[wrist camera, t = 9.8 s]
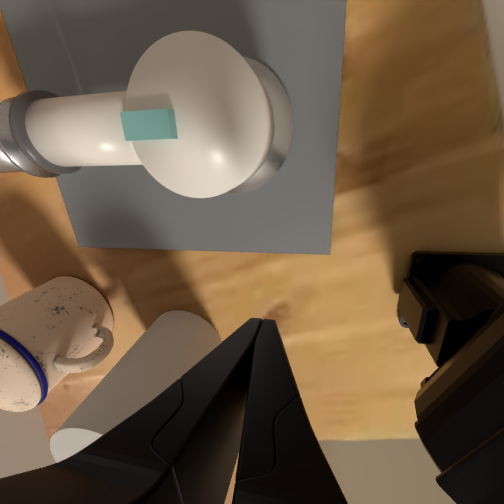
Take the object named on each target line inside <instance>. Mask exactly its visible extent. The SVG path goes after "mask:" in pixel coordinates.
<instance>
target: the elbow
mask: <svg viewBox="0 0 504 504" xmlns="http://www.w3.org/2000/svg"><path fill="white" fill-rule="evenodd" d="M9 125H10V129H11V133H12V135H13V138H14V140H15V142H16V144H17V145H18V147H19V148H20V150H21V151H22V152H23V154H24V155H25V156H26V157H27V158H28V159H29V160H30V161H31V162H32V163H34V164H35V165H36V166H38V167H39V168H41V169H43V170H45V171H48V172H51V173H57V174H68V173H74V172H76V171H78V170H80V169H81V168H82V167H83V166H114V165H143V166H144V167H145V168H146V170H147V171H148V172H149V173H150V174H151V175H152V176H153V178H154V179H156V180H157V181H158V182H159V183H160V184H161V185H163V186H164V187H166V188H167V189H169V190H171V191H173V192H175V193H177V194H180V195H183V196H187V197H192V198H210V197H214V196H218V195H221V194H223V193H226V192H227V191H229V190H231V189H233V188H235V187H236V186H238V185H240V184H242V183H244V182H246V181H247V180H248V179H250V178H251V177H252V176H253V175H254V174H255V173H256V172H257V171H258V170H259V169H260V168H261V166H262V165H263V163H264V162H265V160H266V158H267V156H268V154H269V152H270V149H271V145H272V142H273V136H274V113H273V107H272V104H271V100H270V97H269V95H268V92H267V90H266V88H265V86H264V85H263V83H262V81H261V80H260V79H259V77H258V76H257V75H256V74H255V72H254V71H253V70H252V69H251V67H250V66H249V65H248V63H247V62H246V61H245V60H244V58H243V57H242V56H241V55H240V54H239V53H238V52H237V51H236V50H235V49H234V48H233V47H232V46H231V45H229V44H228V43H226V42H225V41H223V40H222V39H220V38H218V37H216V36H214V35H211V34H208V33H204V32H199V31H180V32H176V33H172V34H170V35H167V36H165V37H163V38H161V39H160V40H158V41H156V42H155V43H154V44H153V45H151V46H150V47H149V48H148V49H147V50H146V51H145V53H144V54H143V55H142V56H141V57H140V59H139V61H138V62H137V64H136V66H135V68H134V70H133V72H132V74H131V77H130V80H129V84H128V88H127V91H119V92H109V93H98V94H87V95H77V96H66V97H59V96H57V95H56V94H54V93H51V92H48V91H44V90H34V91H26V92H23V93H21V94H19V95H18V96H16V97H15V99H14V100H13V101H12V103H11V106H10V109H9Z"/></svg>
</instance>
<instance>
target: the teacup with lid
mask: <svg viewBox="0 0 504 504" xmlns="http://www.w3.org/2000/svg"><path fill="white" fill-rule="evenodd" d="M112 328H113V315H112V312H111V309H110V307H109V305H108V303H107V301H106V300H105V299H104V297H103V296H102V295H101V294H100V293H99V292H98V291H97V290H96V289H95V288H94V287H92V286H91V285H90V284H88V283H86V282H85V281H83V280H80V279H78V278H74V277H69V276H61V277H56V278H54V279H52V280H50V281H48V282H46V283H44V284H42V285H40V286H38V287H36V288H34V289H32V290H30V291H28V292H26V293H25V294H23V295H21V296H19V297H17V298H15V299H13V300H11V301H9V302H7V303H5V304H3V305H1V306H0V409H3V410H7V411H12V412H22V411H26V410H29V409H32V408H33V407H35V406H37V405H39V404H40V403H42V402H43V401H44V400H45V398H46V396H47V393H48V392H49V391H50V390H51V389H53V388H54V387H55V386H56V385H57V384H58V383H59V382H60V381H61V380H62V379H63V378H64V377H65V376H66V375H67V374H68V373H76V372H82V371H85V370H88V369H91V368H93V367H95V366H96V365H98V364H99V363H101V362H102V361H103V360H104V359H105V358H106V357H107V356H108V354H109V353H110V351H111V349H112V347H113V343H114V339H113V334H112V332H111V331H112ZM100 343H102V344H101V345H100V346H99V348H98V349H97V350H95V351H94V352H93V353H91V352H92V351H93V350H94V349H95V348H96V347H97V346H98V345H99V344H100ZM90 353H91V354H90Z"/></svg>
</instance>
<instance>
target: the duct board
mask: <svg viewBox="0 0 504 504" xmlns="http://www.w3.org/2000/svg"><path fill="white" fill-rule="evenodd" d="M346 4H347V0H0V8H1V11H2V14H3V17H4V20H5V24H6V27H7V30H8V33H9V36H10V39H11V42H12V45H13V48H14V51H15V54H16V57H17V60H18V63H19V66H20V69H21V72H22V75H23V78H24V81H25V84H26V87H27V90H28V91H34V90H44V91H48V92H51V93H54V94H56V95H57V96H59V97H66V96H77V95H87V94H98V93H109V92H119V91H127V88H128V84H129V80H130V77H131V74H132V72H133V70H134V68H135V66H136V64H137V62H138V61H139V59H140V57H141V56H142V55H143V54H144V53H145V51H146V50H147V49H148V48H149V47H150V46H151V45H153V44H154V43H155V42H156V41H158V40H160V39H161V38H163V37H165V36H167V35H170V34H172V33H176V32H180V31H199V32H204V33H208V34H211V35H214V36H216V37H218V38H220V39H222V40H223V41H225V42H226V43H228V44H229V45H231V46H232V47H233V48H234V49H235V50H236V51H237V52H238V53H239V54H240V55H241V56H244V57H248V58H251V59H253V60H255V61H258V62H259V63H261V64H262V65H264V66H265V67H267V68H268V69H269V70H270V71H271V72H272V73H273V74H274V75H275V76H276V77H277V78H278V80H279V81H280V83H281V84H282V86H283V87H284V89H285V91H286V93H287V96H288V98H289V101H290V104H291V107H292V113H293V123H294V129H293V139H292V144H291V147H290V151H289V154H288V156H287V158H286V160H285V162H284V164H283V165H282V167H281V168H280V170H279V171H278V172H277V173H276V175H274V176H273V177H272V178H271V179H270V180H269V181H268V182H266V183H265V184H264V185H262V186H260V187H258V188H257V189H254V190H251V191H248V192H244V193H223V194H221V195H218V196H214V197H210V198H192V197H187V196H183V195H180V194H177V193H175V192H173V191H171V190H169V189H167V188H166V187H164V186H163V185H161V184H160V183H159V182H158V181H157V180H156V179H154V178H153V176H152V175H151V174H150V173H149V172H148V171H147V170H146V168H145V167H144V166H143V165H114V166H83V167H82V168H81V169H80V170H78V171H76V172H74V173H68V174H61V175H59V176H56V179H57V182H58V185H59V188H60V191H61V194H62V197H63V200H64V203H65V206H66V209H67V212H68V215H69V218H70V221H71V224H72V227H73V230H74V233H75V236H76V239H77V242H78V245H79V247H97V248H129V249H161V250H193V251H225V252H257V253H289V254H321V255H330V249H331V233H332V218H333V203H334V187H335V172H336V157H337V141H338V126H339V111H340V95H341V80H342V65H343V49H344V34H345V19H346Z"/></svg>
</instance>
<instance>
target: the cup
mask: <svg viewBox="0 0 504 504" xmlns="http://www.w3.org/2000/svg"><path fill="white" fill-rule="evenodd" d="M220 343H222V340H221V338H220V336H219V334H218V332H217V331H216V329H215V328H214V327H213V326H212V325H211V324H210V323H209V322H208V321H206V320H205V319H203V318H202V317H200V316H198V315H196V314H194V313H191V312H187V311H182V310H174V311H168V312H165V313H163V314H162V315H160V316H159V317H158V318H157V319H156V320H155V321H154V322H153V324H152V325H151V326H150V327H149V328H148V329H147V330H146V331H145V333H144V334H143V335H142V336H141V337H140V338H139V339H138V340H137V341H136V343H135V344H134V345H133V346H132V347H131V348H130V349H129V350H128V352H127V353H126V354H125V355H124V356H123V357H122V358H121V359H120V361H119V362H118V363H117V364H116V365H115V366H114V367H113V368H112V370H111V371H110V372H109V373H108V374H107V375H106V376H105V377H104V378H103V380H102V381H101V382H100V383H99V384H98V385H97V386H96V387H95V389H94V390H93V391H92V392H91V393H90V394H89V395H88V396H87V398H86V399H85V400H84V401H83V402H82V403H81V404H80V405H79V407H78V408H77V409H76V410H75V411H74V412H73V413H72V414H71V415H70V417H69V418H68V419H67V420H66V421H65V422H64V423H63V424H62V426H61V427H60V428H59V429H58V430H57V431H56V432H55V433H54V435H53V436H52V437H51V440H50V449H51V453H52V455H53V457H54V459H55V461H56V463H58V462H60V461H62V460H64V459H66V458H68V457H70V456H72V455H74V454H76V453H77V452H79V451H81V450H82V449H84V448H85V447H87V446H88V445H90V444H91V443H92V442H94V441H95V440H97V439H98V438H99V437H101V436H102V435H104V434H105V433H107V432H108V431H109V430H111V429H112V428H114V427H115V426H117V425H118V424H119V423H121V422H122V421H124V420H125V419H127V418H128V417H129V416H131V415H132V414H134V413H135V412H136V411H138V410H139V409H140V408H142V407H143V406H145V405H146V404H147V403H149V402H150V401H151V400H153V399H154V398H155V397H157V396H158V395H159V394H160V393H162V392H163V391H164V390H165V389H167V388H168V387H169V386H170V385H171V384H173V383H174V382H175V381H176V380H177V379H180V377H181V376H182V375H183V374H185V373H186V372H187V371H188V370H189V369H191V368H192V367H193V366H194V365H195V364H197V363H198V362H199V361H200V360H201V359H203V358H204V357H205V356H206V355H207V354H209V353H210V352H211V351H212V350H213V349H214V348H216V347H217V346H218V345H219V344H220ZM180 380H181V379H180Z"/></svg>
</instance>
